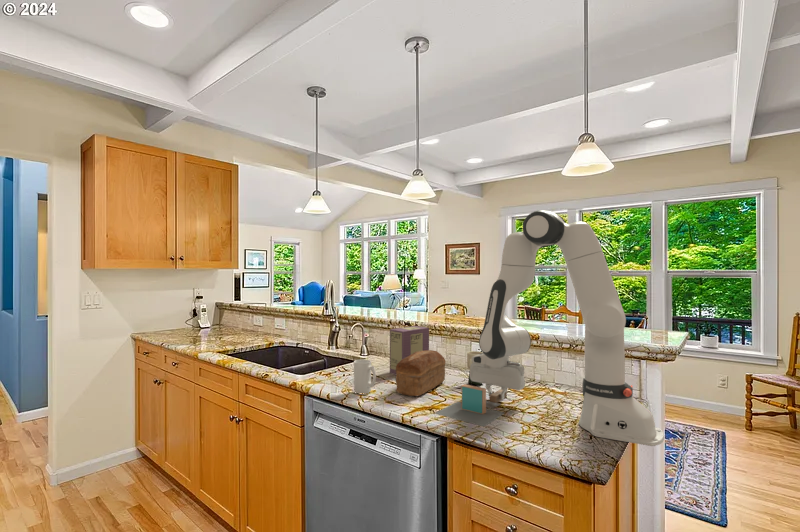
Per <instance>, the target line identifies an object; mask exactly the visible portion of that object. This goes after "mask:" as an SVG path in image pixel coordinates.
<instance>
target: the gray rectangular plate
mask: <svg viewBox="0 0 800 532" xmlns="http://www.w3.org/2000/svg"><path fill="white" fill-rule="evenodd" d="M434 414H436V415H440V416H443V417H447V418H451V419H454V420H458V421H462V422H465V423H469V424H473V425H476V426H480V427H486V426H488V425H489V424H491V423H492V422H494V421H495V420H497V419H498V418H500V417H501V416H503V415H505V414H506V412H504V411H498V410H495V409H491V408H487V407H486V413H485V414H479V413H475V412H471V411H467V410H463V409H462V401H457V402H454V403H452V404H451V405H448V406H446V407H444V408H442V409H440V410H438V411H435V412H434Z"/></svg>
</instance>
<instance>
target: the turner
mask: <svg viewBox="0 0 800 532" xmlns="http://www.w3.org/2000/svg"><path fill="white" fill-rule="evenodd" d="M502 391H503V390H501V389H499V390H496V391H494V393H493V394H491V395H489V394H488V397H489V399H488V400H486V408H487V409H491V410H495V408H498V407H499V406H500V405H501V403H499V402H501V401H502V400H504V399H507V398H508V397H507V396H508V394H507V392H508V390H507V391H506V392H505V394H504V399H499V395H498V394H499V393H502Z"/></svg>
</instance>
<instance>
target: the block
mask: <svg viewBox="0 0 800 532" xmlns="http://www.w3.org/2000/svg"><path fill="white" fill-rule="evenodd" d="M486 401H487V388H486V387H481V386H475V385H470V384H462V385H461V402H462V409H463V410H467V411H471V412H475V413H479V414H485V413H486V408H487V407H486Z"/></svg>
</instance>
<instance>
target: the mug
mask: <svg viewBox="0 0 800 532" xmlns="http://www.w3.org/2000/svg"><path fill="white" fill-rule="evenodd" d="M372 375H373V377H372ZM376 380H377V374H376V369H375V366H374V365H372V361H371V359H364V358H363V359H361V358H360V359H355V360H354V361H353V386H354V388H353V389H354V391H355V392H356V393H368V394H370V393H371V392H372V391H371V389H372V388H374V387H375V384H376ZM370 391H371V392H370ZM355 392H354V393H355ZM369 392H370V393H369ZM356 393H355V394H356Z"/></svg>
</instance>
